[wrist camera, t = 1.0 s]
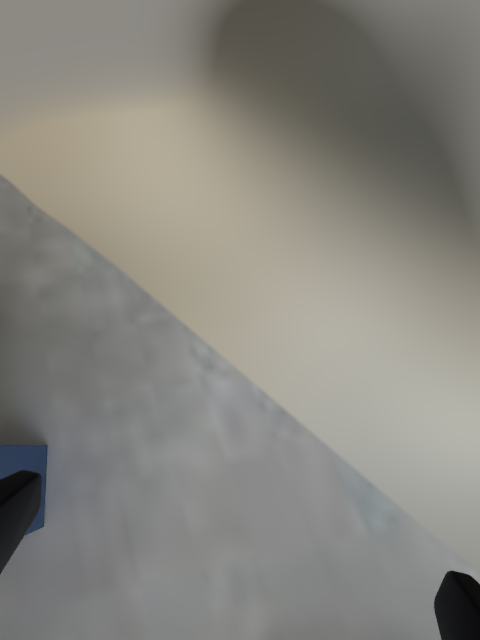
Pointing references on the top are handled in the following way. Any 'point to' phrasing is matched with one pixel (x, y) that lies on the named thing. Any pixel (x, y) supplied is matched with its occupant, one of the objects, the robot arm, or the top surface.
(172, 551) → the top surface
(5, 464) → the blue block
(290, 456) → the top surface
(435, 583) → the top surface
